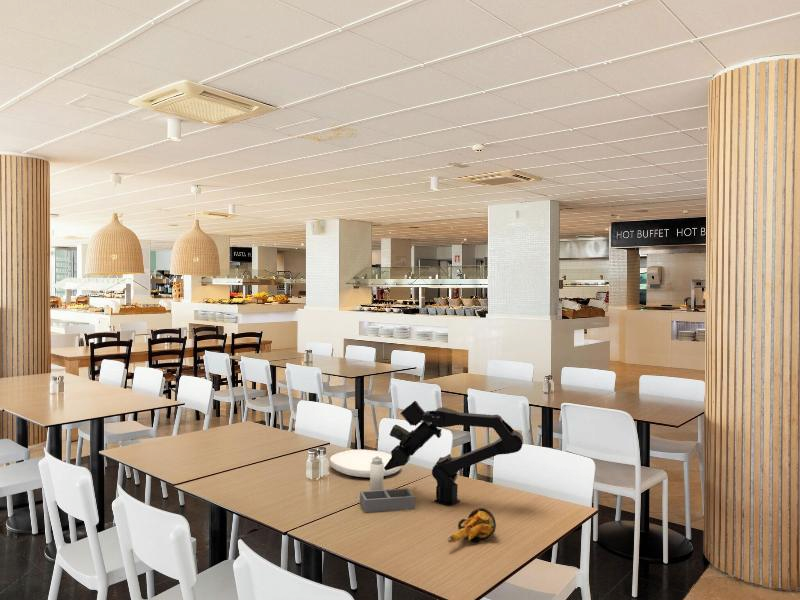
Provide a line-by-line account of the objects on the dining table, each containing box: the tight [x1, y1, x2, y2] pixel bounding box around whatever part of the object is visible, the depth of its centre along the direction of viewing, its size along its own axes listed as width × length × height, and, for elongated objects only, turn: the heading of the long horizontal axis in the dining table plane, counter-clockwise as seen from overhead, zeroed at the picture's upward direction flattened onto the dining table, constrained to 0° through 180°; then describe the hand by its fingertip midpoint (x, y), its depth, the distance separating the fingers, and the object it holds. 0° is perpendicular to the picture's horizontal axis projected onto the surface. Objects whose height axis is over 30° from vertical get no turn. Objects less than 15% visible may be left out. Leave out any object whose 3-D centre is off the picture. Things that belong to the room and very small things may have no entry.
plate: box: [329, 449, 402, 478], centre depth 239 cm, size 28×6×27 cm
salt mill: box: [369, 456, 385, 491], centre depth 210 cm, size 5×5×14 cm
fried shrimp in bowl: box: [447, 507, 497, 545], centre depth 171 cm, size 9×11×18 cm
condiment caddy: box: [359, 487, 416, 514], centre depth 199 cm, size 16×9×4 cm, turn 104°
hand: (388, 465), depth 209 cm, fingers open, 9 cm apart
